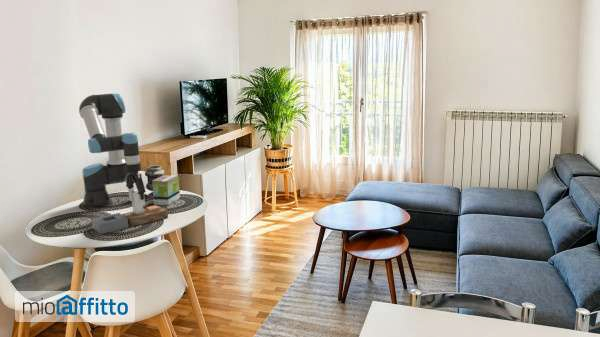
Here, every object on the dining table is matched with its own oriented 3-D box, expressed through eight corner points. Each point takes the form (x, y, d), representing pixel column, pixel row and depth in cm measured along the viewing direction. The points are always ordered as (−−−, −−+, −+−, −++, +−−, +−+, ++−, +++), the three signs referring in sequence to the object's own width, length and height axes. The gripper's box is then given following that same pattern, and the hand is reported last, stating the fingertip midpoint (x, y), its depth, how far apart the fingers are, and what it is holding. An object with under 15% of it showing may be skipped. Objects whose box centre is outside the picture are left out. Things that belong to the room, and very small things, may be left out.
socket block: (122, 221, 254) (122, 213, 253) (158, 212, 267) (158, 205, 266) (131, 226, 245) (130, 219, 244) (168, 217, 258) (167, 210, 257)
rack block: (92, 228, 245) (91, 219, 244) (120, 221, 253) (118, 212, 252) (100, 234, 236) (99, 224, 235) (128, 227, 244) (127, 218, 243)
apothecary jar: (156, 198, 296) (153, 169, 292) (142, 195, 302) (139, 167, 298) (170, 193, 306) (168, 165, 302) (157, 191, 312) (154, 163, 308)
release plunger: (147, 216, 259) (146, 207, 258) (156, 214, 262) (155, 205, 261) (151, 218, 255) (150, 209, 254) (160, 216, 258) (159, 207, 257)
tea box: (169, 205, 279) (167, 180, 276) (153, 205, 281) (151, 180, 278) (180, 198, 294) (178, 174, 290) (165, 197, 296) (163, 174, 292)
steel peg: (134, 220, 254) (130, 191, 251) (141, 219, 257) (138, 190, 253) (137, 222, 251) (133, 193, 248) (144, 220, 254) (141, 191, 250)
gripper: (116, 161, 254) (121, 199, 259) (134, 167, 235) (139, 209, 240) (130, 158, 259) (135, 196, 263) (149, 165, 240) (153, 206, 244)
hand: (137, 202), depth 251 cm, fingers open, 13 cm apart
